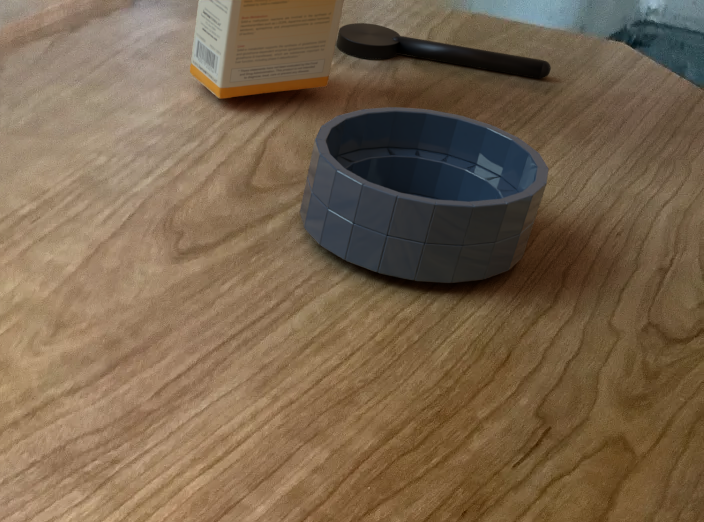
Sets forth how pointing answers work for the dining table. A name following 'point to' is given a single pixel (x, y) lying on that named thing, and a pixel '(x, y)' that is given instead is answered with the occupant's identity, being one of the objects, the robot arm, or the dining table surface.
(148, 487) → the dining table surface
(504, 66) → the dark round paddle
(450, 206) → the bowl
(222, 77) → the supplement box
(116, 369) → the dining table surface
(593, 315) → the dining table surface
